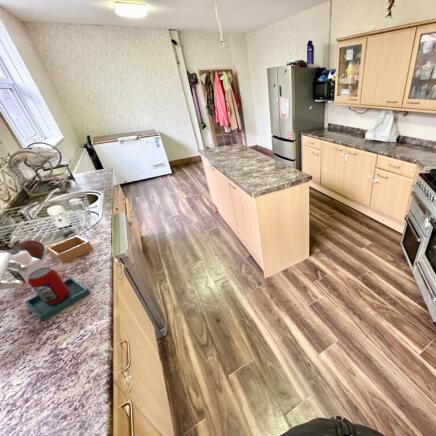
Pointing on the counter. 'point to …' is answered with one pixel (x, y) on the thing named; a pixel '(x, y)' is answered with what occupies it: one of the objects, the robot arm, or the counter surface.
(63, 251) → the basket
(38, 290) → the beverage can
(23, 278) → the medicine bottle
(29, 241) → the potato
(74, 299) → the tray
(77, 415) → the counter surface
